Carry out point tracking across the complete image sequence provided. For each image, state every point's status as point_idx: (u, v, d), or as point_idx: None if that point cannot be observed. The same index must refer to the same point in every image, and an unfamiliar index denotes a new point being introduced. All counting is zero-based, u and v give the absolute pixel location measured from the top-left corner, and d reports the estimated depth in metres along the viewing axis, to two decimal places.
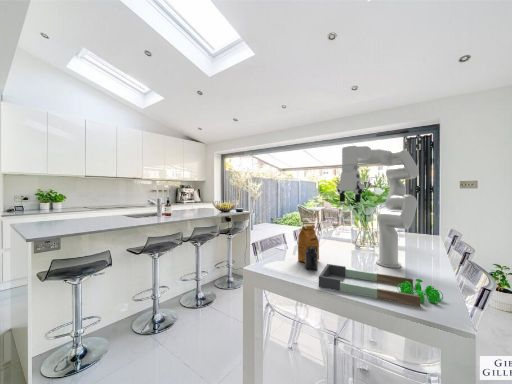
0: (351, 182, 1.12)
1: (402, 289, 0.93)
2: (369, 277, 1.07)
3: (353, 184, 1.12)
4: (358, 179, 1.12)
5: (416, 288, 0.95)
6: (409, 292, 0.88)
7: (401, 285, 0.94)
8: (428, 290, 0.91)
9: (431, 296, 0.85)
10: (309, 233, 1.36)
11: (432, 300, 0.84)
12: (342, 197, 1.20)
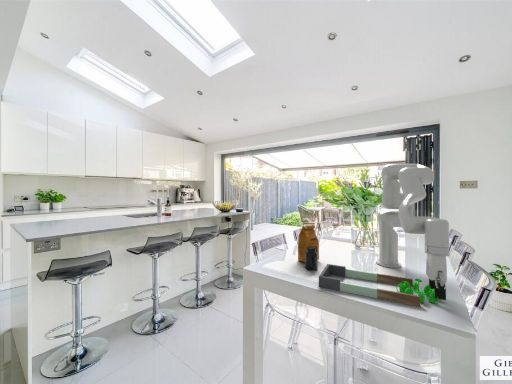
0: None
1: (401, 289, 0.92)
2: (369, 277, 1.07)
3: None
4: None
5: (414, 288, 0.95)
6: (409, 292, 0.88)
7: (400, 285, 0.93)
8: (426, 290, 0.91)
9: (431, 296, 0.85)
10: (309, 233, 1.36)
11: (432, 300, 0.84)
12: None
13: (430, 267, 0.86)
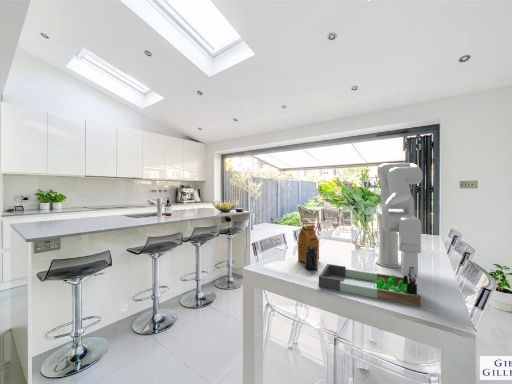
0: None
1: (378, 286, 0.95)
2: (369, 277, 1.07)
3: None
4: None
5: (389, 284, 0.99)
6: (386, 289, 0.91)
7: (377, 282, 0.96)
8: (400, 285, 0.96)
9: (406, 291, 0.89)
10: (309, 233, 1.36)
11: None
12: None
13: (403, 263, 0.90)
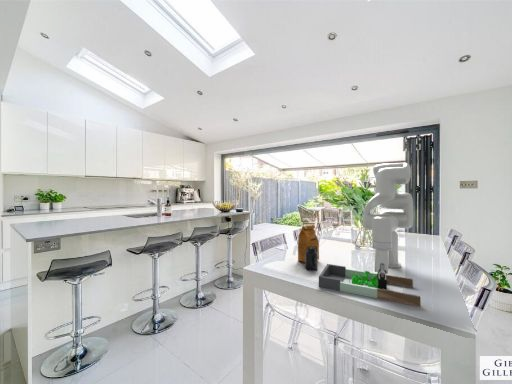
0: None
1: (354, 282, 1.00)
2: (369, 277, 1.07)
3: None
4: None
5: (363, 279, 1.04)
6: (361, 284, 0.96)
7: (352, 278, 1.01)
8: (373, 280, 1.01)
9: None
10: (309, 233, 1.36)
11: None
12: None
13: (375, 260, 0.95)
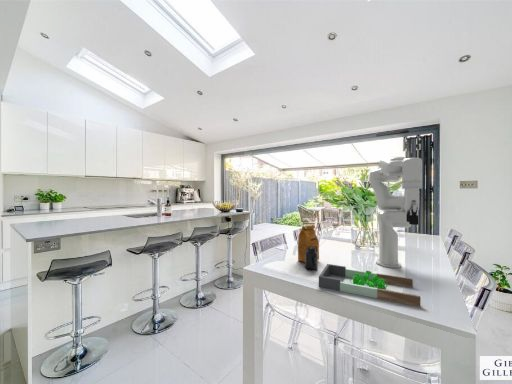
0: None
1: (355, 281, 1.00)
2: (369, 277, 1.07)
3: None
4: None
5: (364, 279, 1.04)
6: (362, 284, 0.96)
7: (354, 278, 1.01)
8: (374, 280, 1.02)
9: (379, 285, 0.94)
10: (309, 233, 1.36)
11: None
12: None
13: (406, 199, 0.99)
